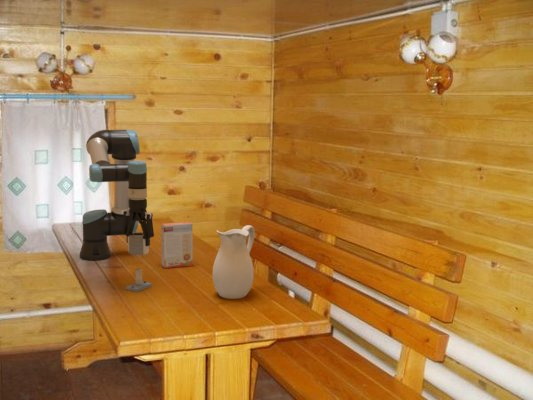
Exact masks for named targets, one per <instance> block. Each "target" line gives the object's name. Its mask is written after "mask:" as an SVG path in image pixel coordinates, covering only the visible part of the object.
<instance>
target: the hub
mask: <svg viewBox="0 0 533 400" xmlns="http://www.w3.org/2000/svg"><path fill="white" fill-rule="evenodd" d="M144 238H145V237H144V234H143V231H138V232H137V231H136V232H133V233H130V234H129V252H128V254H129V255H133V256H141V255H142V256H143V255H145V254H143V239H144Z"/></svg>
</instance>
